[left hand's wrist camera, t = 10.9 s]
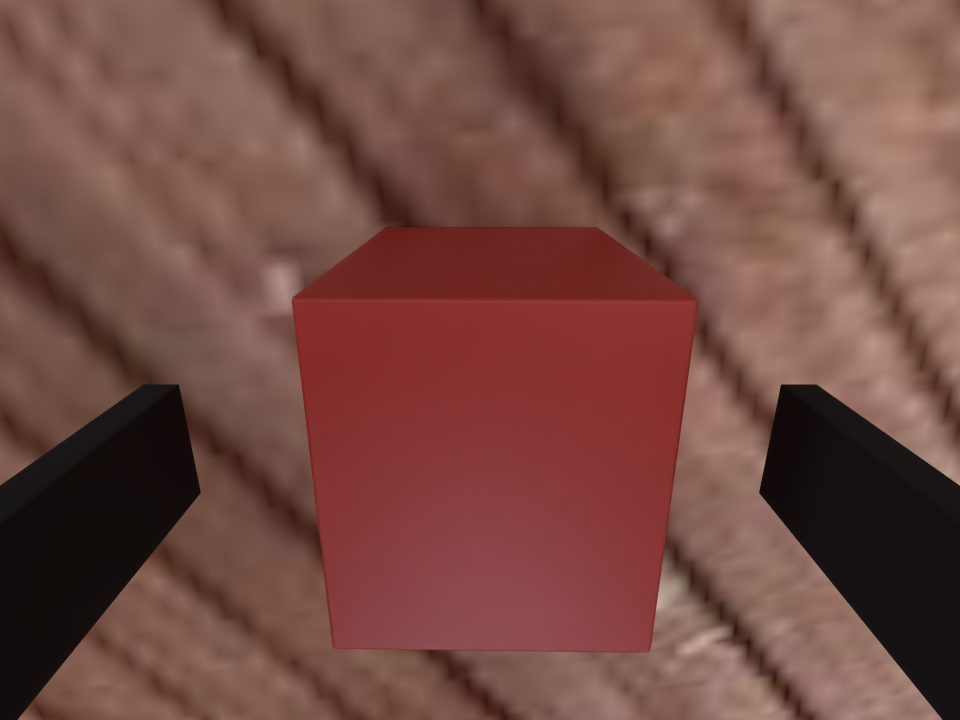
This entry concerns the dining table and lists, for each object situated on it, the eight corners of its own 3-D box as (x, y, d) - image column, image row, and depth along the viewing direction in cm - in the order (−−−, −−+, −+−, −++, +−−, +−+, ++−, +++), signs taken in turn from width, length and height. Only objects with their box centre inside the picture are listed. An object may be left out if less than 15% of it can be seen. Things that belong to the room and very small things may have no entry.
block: (397, 441, 21) (331, 650, 12) (385, 226, 18) (289, 297, 9) (583, 443, 21) (651, 654, 12) (598, 227, 18) (700, 299, 9)
